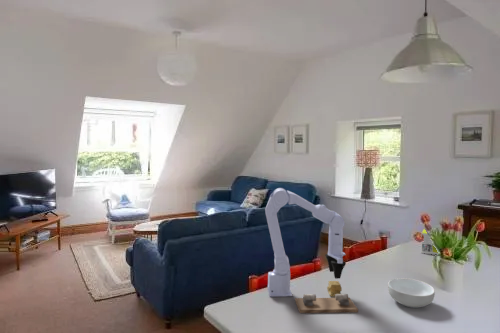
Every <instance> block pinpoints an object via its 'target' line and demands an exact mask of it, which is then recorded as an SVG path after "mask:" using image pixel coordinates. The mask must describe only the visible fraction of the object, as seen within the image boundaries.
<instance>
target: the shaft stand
mask: <svg viewBox="0 0 500 333" xmlns="http://www.w3.org/2000/svg"><path fill="white" fill-rule="evenodd" d="M294 300H295V305H296V307H297V309H298V313H299V314H314V313H315V314H317V313H318V314H319V313H320V314H323V313H325V314H327V313H328V314H329V313H331V314H332V313H334V314H335V313H358V312H359V308H358V307H357V305H356V304H355V303H354V302H353V300H352V299H351V298H350V297H349V294H348V293H340V294H335V296H334V297H317V295H316V294H315V293H314V294H312V293H310V294H308V293H306V294H305V293H304V294H303V296H302V297H295V299H294Z"/></svg>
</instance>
